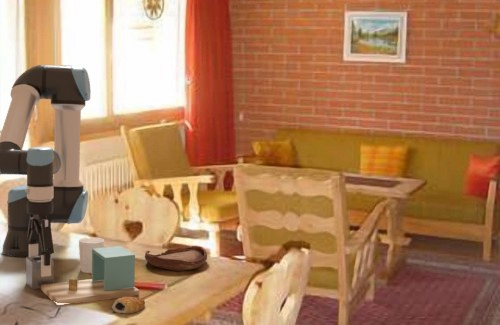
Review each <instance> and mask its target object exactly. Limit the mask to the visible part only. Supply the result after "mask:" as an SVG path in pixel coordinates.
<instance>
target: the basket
mask: <svg viewBox="0 0 500 325" xmlns="http://www.w3.org/2000/svg"><path fill="white" fill-rule="evenodd" d="M150 252H151V251H150V250H146V251H145V254H144V259H145V261H146V262H147V263H149V264H150V265H152V266H153V267H158V268H162V269H165V270H169V271H176V272H181V271H190V270H193V269H194V270H195V269H197V268H199V267H201V266H202V265H205V263H206V261H207V259H208V253H207V250H206V248H205V247H203V246H200V245H192V246H188V247H187V246H183V247H178V248H177V247H176V248H175V247H174V248H168V249H166V250H165V251H164V252H161V253H160V254H159V253H158V254H151V253H150Z"/></svg>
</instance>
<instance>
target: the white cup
mask: <svg viewBox="0 0 500 325" xmlns="http://www.w3.org/2000/svg"><path fill="white" fill-rule="evenodd" d="M104 247H105V239H103V237H102V238H101V237H97V236H95V237H91V236H90V237H84V238H80V239H79V240H78V248H79V250H78V252H79V263H80V272H82V273H83V274H92V249H94V248H104Z"/></svg>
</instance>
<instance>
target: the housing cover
mask: <svg viewBox="0 0 500 325" xmlns="http://www.w3.org/2000/svg"><path fill="white" fill-rule="evenodd" d="M135 269H136V254H135V253H133V252H132V251H130V250H128V249H127V248H125V247H123V246H121V245H118V246H117V245H116V246H115V245H114V246H107V247H105V246H104V248H94V249H92V273H91V279H92V281H99V280H104V290H105V291H108V290H116V289H124V288H132V287H135V285H136V284H135V283H136V282H135V279H136V278H135V276H136V275H135V274H136V270H135Z"/></svg>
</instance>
